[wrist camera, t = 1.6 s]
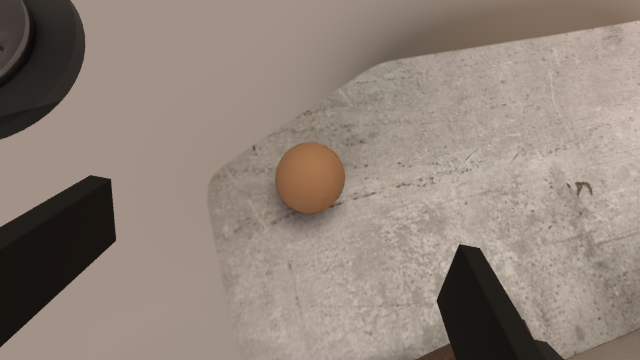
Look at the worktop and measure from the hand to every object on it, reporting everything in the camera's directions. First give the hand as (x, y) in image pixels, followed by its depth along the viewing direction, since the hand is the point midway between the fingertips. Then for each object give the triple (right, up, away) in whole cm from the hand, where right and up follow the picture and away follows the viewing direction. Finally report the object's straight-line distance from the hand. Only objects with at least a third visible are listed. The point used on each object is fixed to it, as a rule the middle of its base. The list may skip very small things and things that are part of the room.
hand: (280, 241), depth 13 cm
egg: (0, +2, +23) cm, 23 cm away
